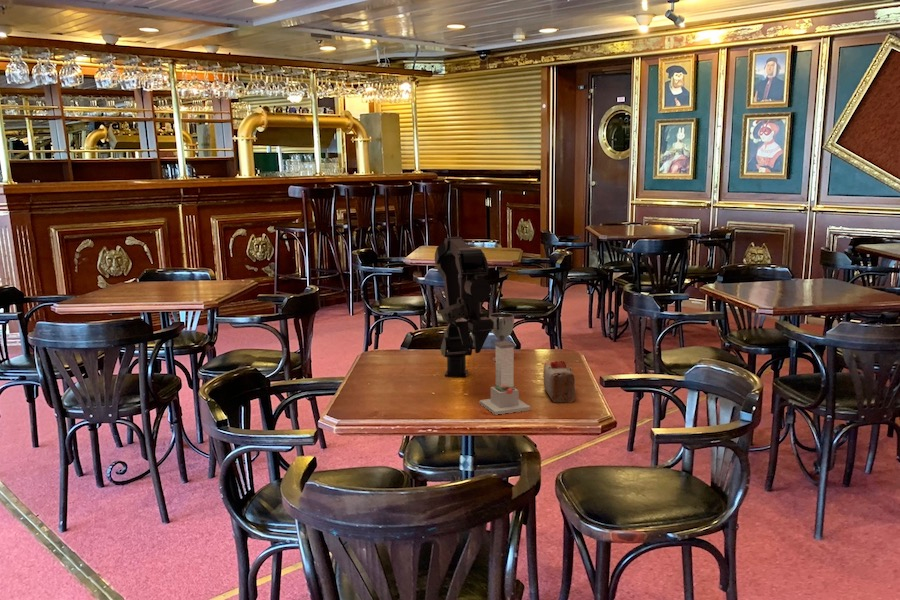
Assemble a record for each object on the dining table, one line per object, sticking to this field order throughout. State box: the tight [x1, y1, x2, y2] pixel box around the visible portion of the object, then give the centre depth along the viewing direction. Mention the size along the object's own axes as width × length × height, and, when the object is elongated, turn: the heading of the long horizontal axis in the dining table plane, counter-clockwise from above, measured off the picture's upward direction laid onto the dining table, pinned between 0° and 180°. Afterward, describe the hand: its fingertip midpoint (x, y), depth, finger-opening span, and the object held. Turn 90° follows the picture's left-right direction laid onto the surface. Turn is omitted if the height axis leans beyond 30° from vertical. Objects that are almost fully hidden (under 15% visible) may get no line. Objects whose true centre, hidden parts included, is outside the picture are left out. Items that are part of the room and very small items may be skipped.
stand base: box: [478, 386, 531, 416], centre depth 188 cm, size 10×10×6 cm
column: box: [494, 340, 516, 392], centre depth 187 cm, size 4×4×12 cm
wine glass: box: [489, 312, 515, 361], centre depth 236 cm, size 8×8×15 cm
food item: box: [542, 360, 576, 404], centre depth 198 cm, size 14×8×10 cm, turn 4°
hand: (471, 349), depth 202 cm, fingers open, 9 cm apart
